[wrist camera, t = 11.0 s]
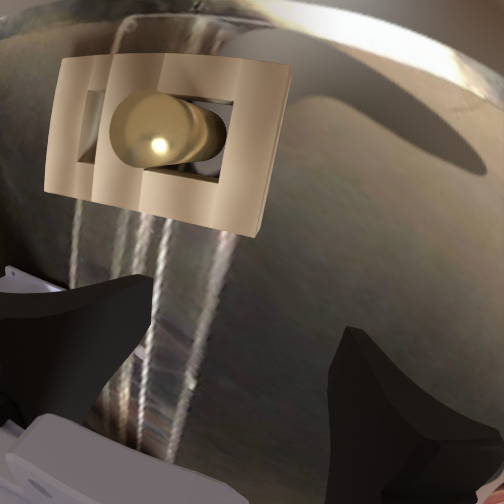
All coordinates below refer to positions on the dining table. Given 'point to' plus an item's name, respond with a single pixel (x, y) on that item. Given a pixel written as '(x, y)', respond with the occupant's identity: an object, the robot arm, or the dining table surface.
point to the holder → (156, 178)
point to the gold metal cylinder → (164, 131)
